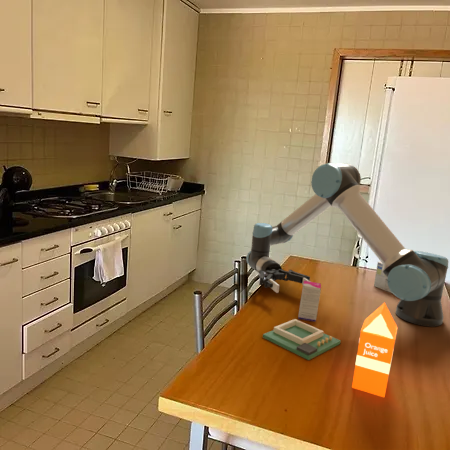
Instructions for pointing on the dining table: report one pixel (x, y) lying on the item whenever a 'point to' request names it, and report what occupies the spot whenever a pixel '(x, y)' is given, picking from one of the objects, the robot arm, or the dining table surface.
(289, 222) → the robot arm
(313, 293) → the supplement box
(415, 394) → the dining table surface
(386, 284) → the light bulb box
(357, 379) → the orange juice
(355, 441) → the dining table surface
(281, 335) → the socket board
